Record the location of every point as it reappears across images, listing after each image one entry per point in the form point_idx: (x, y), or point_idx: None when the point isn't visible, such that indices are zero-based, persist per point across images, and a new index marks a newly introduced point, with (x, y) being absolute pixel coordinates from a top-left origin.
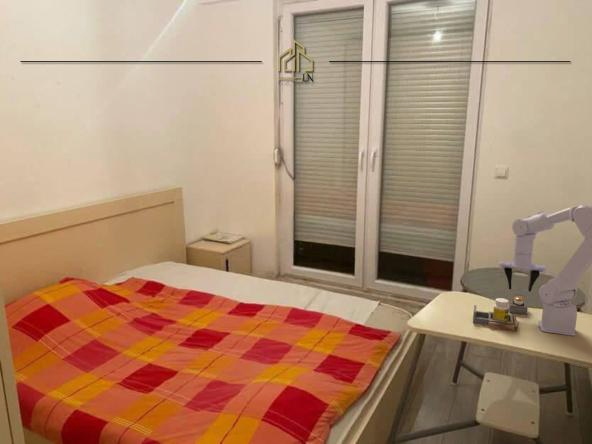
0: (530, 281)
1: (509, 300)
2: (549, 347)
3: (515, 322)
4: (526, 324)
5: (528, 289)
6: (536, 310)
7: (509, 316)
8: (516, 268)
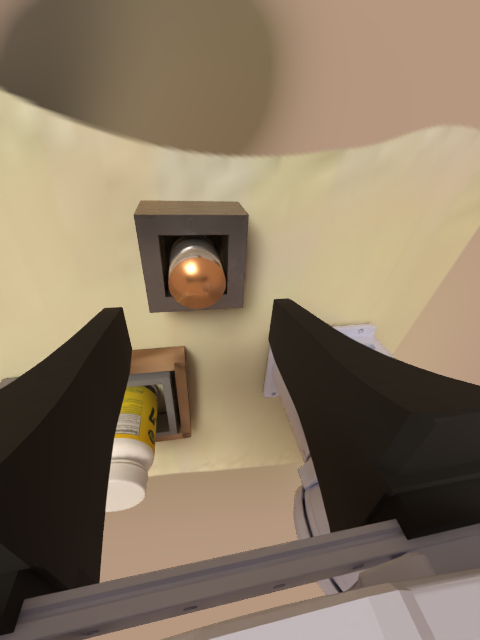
0: (302, 419)
1: (136, 229)
2: (263, 450)
3: (184, 416)
4: (223, 364)
5: (273, 315)
6: (295, 189)
7: (159, 380)
8: (137, 618)
